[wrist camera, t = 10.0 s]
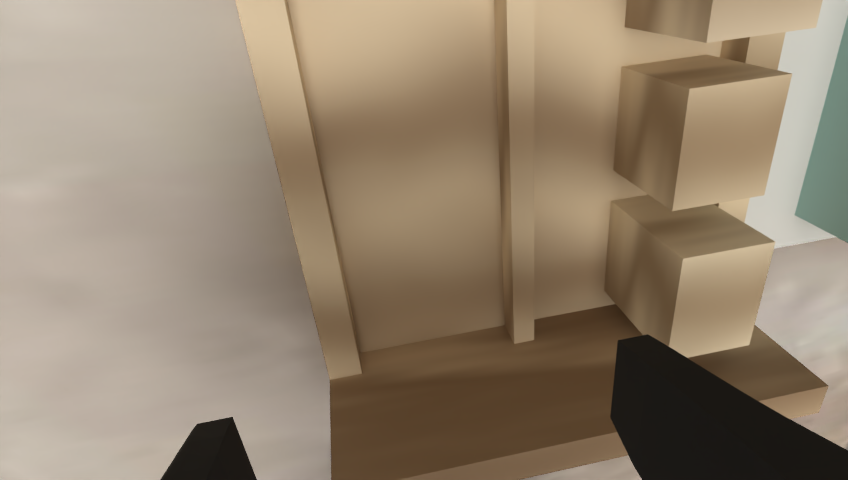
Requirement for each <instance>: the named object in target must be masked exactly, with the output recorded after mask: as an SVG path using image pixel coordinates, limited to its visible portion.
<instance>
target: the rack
mask: <svg viewBox="0 0 848 480" xmlns="http://www.w3.org/2000/svg"><path fill="white" fill-rule="evenodd" d="M235 1H236V5H237V9H238V13H239V17H240V21H241V25H242V29H243V33H244V37H245V41H246V45H247V49H248V53H249V57H250V61H251V65H252V69H253V73H254V78H255V82H256V86H257V90H258V94H259V98H260V102H261V106H262V110H263V114H264V118H265V122H266V126H267V130H268V134H269V138H270V142H271V146H272V150H273V154H274V158H275V162H276V166H277V170H278V174H279V178H280V182H281V186H282V190H283V194H284V198H285V202H286V206H287V210H288V214H289V218H290V222H291V226H292V230H293V234H294V238H295V242H296V246H297V250H298V254H299V258H300V262H301V266H302V270H303V274H304V278H305V282H306V286H307V290H308V294H309V298H310V302H311V306H312V310H313V314H314V318H315V322H316V326H317V330H318V334H319V338H320V342H321V346H322V350H323V354H324V358H325V362H326V366H327V370H328V374H329V378H330V419H331V480H520V479H524V478H529V477H533V476H537V475H542V474H546V473H551V472H555V471H560V470H564V469H569V468H573V467H578V466H582V465H587V464H591V463H596V462H600V461H605V460H609V459H613V458H618V457H622V456H627V455H628V453H627V451H626V449H625V447H624V445H623V443H622V441H621V439H620V437H619V435H618V433H617V431H616V428H615V426H614V424H613V422H612V420H611V418H610V414H611V404H612V394H613V384H614V374H615V363H616V353H617V343H618V340H622V339H627V338H632V337H637V336H642V333H641V332H640V331H639V330H638V329H637V328H636V327H635V325H634V324H633V323H632V322H631V321H630V320H629V319H628V317H627V316H626V315H625V314H624V313H623V312H622V311H621V309H620V308H619V307H618V306H617V305H616V304H615V302H614V301H613V300H612V299H611V298H610V297H609V296H608V294H607V293H606V292H605V291H604V284H605V271H606V258H607V245H608V232H609V220H610V207H611V201H613V200H618V199H624V198H630V197H636V196H642V195H648V194H647V193H645V192H644V191H642V190H641V189H640V188H638V187H637V186H635V185H634V184H632V183H631V182H629V181H628V180H627V179H625V178H624V177H622V176H621V175H619V174H618V173H617V172H615V171H614V170H613V168H614V156H615V143H616V130H617V117H618V104H619V92H620V79H621V67H622V66H629V65H636V64H643V63H650V62H657V61H664V60H671V59H678V58H685V57H692V56H699V55H706V54H707V55H711V56H716V57H720V58H725V59H729V60H734V61H738V62H743V63H747V64H752V65H756V66H761V67H765V68H770V69H774V70H778V66H779V61H780V56H781V52H782V47H783V42H784V38H785V33H786V32H782V33H775V34H768V35H760V36H753V37H746V38H739V39H732V40H725V41H717V42H710V43H704V42H699V41H693V40H688V39H683V38H678V37H673V36H668V35H662V34H657V33H652V32H647V31H642V30H637V29H631V28H626V27H625V15H626V2H627V0H235ZM749 199H750V198H745V199H740V200H734V201H728V202H722V203H717V204H714V205H715V206H717V207H719V208H720V209H722V210H724V211H725V212H727V213H729V214H730V215H732V216H734V217H735V218H737V219H739V220H740V221H742V222H745V218H746V213H747V208H748V204H749ZM688 359H690V360H691V361H693V362H695V363H696V364H698V365H700V366H701V367H703V368H704V369H706V370H708V371H709V372H711V373H713V374H714V375H716V376H717V377H719V378H721V379H722V380H724V381H726V382H727V383H729V384H731V385H732V386H734V387H735V388H737V389H739V390H740V391H742V392H744V393H745V394H747V395H749V396H751V397H752V398H754V399H756V400H757V401H759V402H761V403H762V404H764V405H766V406H768V407H769V408H771V409H773V410H774V411H776V412H778V413H780V414H782V415H783V416H785V417H787V418H789V419H792V418H797V417H801V416H806V415H810V414H815V413H819V410H820V408H821V405H822V402H823V399H824V397H825V394H826V391H827V389H828V385H827V384H826V383H824V382H823V381H822V380H821V379H820V378H818V377H817V376H816V375H815V374H813V373H812V372H811V371H810V370H809V369H807V368H806V367H805V366H804V365H803V364H801V363H800V362H799V361H798V360H797V359H795V358H794V357H793V356H792V355H790V354H789V353H788V352H787V351H786V350H784V349H783V348H782V347H781V346H780V345H778V344H777V343H776V342H775V341H773V340H772V339H771V338H770V337H769V336H767V335H766V334H765V333H764V332H763V331H761V330H760V329H759V328H758V327H757V326H755V325H754V329H753V333H752V336H751V340H750V344H749V345H747V346H742V347H737V348H732V349H728V350H723V351H718V352H713V353H708V354H703V355H698V356H694V357H689V358H688Z"/></svg>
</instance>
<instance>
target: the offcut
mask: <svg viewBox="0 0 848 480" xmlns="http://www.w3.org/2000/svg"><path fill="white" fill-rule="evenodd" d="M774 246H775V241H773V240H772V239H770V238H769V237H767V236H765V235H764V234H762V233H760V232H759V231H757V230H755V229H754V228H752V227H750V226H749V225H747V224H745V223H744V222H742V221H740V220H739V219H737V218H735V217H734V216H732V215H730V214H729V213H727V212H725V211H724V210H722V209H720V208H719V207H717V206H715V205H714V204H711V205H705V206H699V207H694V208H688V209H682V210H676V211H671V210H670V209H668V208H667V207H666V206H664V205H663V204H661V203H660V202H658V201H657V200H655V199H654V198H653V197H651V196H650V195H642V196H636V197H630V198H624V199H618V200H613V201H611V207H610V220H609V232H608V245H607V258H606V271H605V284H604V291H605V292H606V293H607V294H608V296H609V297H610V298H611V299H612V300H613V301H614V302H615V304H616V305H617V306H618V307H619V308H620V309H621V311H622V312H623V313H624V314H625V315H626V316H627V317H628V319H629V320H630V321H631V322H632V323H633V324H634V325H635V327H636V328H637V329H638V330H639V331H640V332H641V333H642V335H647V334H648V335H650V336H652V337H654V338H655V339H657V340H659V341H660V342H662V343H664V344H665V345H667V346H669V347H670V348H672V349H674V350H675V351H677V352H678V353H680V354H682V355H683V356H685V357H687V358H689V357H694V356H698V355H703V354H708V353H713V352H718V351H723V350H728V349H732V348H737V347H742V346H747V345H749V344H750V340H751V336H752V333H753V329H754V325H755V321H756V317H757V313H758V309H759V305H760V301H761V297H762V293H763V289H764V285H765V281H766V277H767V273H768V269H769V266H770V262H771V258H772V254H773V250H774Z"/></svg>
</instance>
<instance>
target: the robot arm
mask: <svg viewBox="0 0 848 480" xmlns="http://www.w3.org/2000/svg"><path fill="white" fill-rule="evenodd" d="M610 418H611V420H612V422H613V424H614V426H615V428H616V431H617V433H618V435H619V437H620V439H621V441H622V443H623V445H624V447H625V449H626V451H627V453H628V455H629V457H630V459H631V461H632V463H633V465H634V467H635V469H636V470H637V472H638V473H639V475H640V477H641V478H642V480H848V450H846V449H844V448H842V447H840V446H838V445H836V444H835V443H833V442H831V441H829V440H827V439H825V438H823V437H822V436H820V435H818V434H816V433H814V432H812V431H810V430H809V429H807V428H805V427H803V426H801V425H799V424H797V423H796V422H794V421H792V420H790V419H789V418H787V417H785V416H783V415H782V414H780V413H778V412H776V411H774V410H773V409H771V408H769V407H768V406H766V405H764V404H762V403H761V402H759V401H757V400H756V399H754V398H752V397H751V396H749V395H747V394H745V393H744V392H742V391H740V390H739V389H737V388H735V387H734V386H732V385H731V384H729V383H727V382H726V381H724V380H722V379H721V378H719V377H717V376H716V375H714V374H713V373H711V372H709V371H708V370H706V369H704V368H703V367H701V366H700V365H698V364H696V363H695V362H693V361H691V360H690V359H688V358H687V357H685V356H683V355H682V354H680V353H678V352H677V351H675V350H674V349H672V348H670V347H669V346H667V345H665V344H664V343H662V342H660V341H659V340H657V339H655V338H654V337H652V336H650V335H648V334H647V335H642V336H637V337H632V338H627V339H622V340H618V343H617V353H616V363H615V374H614V384H613V394H612V404H611V414H610ZM161 480H257V479H256V477H255V474H254V472H253V469H252V466H251V464H250V461H249V459H248V456H247V453H246V451H245V448H244V446H243V443H242V440H241V438H240V435H239V433H238V430H237V428H236V425H235V422H234V420H233V417H230V418H225V419H220V420H215V421H210V422H205V423H200V424H197V425H196V426H195V427H194V429H193V430H192V432H191V433H190V435H189V436H188V438H187V439H186V441H185V442H184V444H183V446H182V447H181V449H180V450H179V452H178V453H177V455H176V456H175V458H174V460H173V461H172V463H171V464H170V466H169V467H168V469H167V471H166V472H165V474H164V475H163V477H162V478H161Z"/></svg>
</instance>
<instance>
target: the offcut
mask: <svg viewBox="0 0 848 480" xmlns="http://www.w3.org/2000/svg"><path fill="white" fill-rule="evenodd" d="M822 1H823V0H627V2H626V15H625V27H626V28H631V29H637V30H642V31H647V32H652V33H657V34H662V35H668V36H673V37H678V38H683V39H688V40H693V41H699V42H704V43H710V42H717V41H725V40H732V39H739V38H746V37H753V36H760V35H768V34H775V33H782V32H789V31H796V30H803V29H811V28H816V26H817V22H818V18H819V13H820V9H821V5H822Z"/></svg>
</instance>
